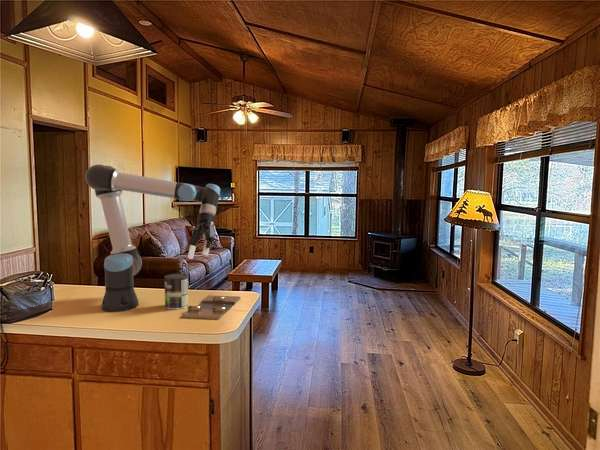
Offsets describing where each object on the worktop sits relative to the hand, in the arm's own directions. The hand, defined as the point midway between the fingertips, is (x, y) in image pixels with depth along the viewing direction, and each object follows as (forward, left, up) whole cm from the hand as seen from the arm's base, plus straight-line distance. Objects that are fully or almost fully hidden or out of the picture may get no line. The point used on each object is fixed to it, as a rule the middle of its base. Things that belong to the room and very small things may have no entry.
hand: (197, 256), depth 184 cm
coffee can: (-7, -7, -22) cm, 24 cm away
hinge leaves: (+10, -6, -22) cm, 25 cm away
